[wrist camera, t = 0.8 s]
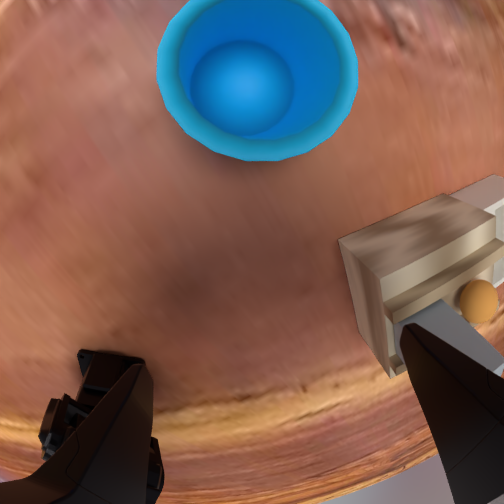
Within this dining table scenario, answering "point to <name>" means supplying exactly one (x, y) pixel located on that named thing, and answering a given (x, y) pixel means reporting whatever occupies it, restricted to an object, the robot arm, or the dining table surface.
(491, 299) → the ball
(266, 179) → the dining table surface
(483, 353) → the grey rectangular block
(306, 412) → the dining table surface
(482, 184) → the white open storage bin
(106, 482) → the robot arm
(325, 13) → the mug
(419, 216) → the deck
